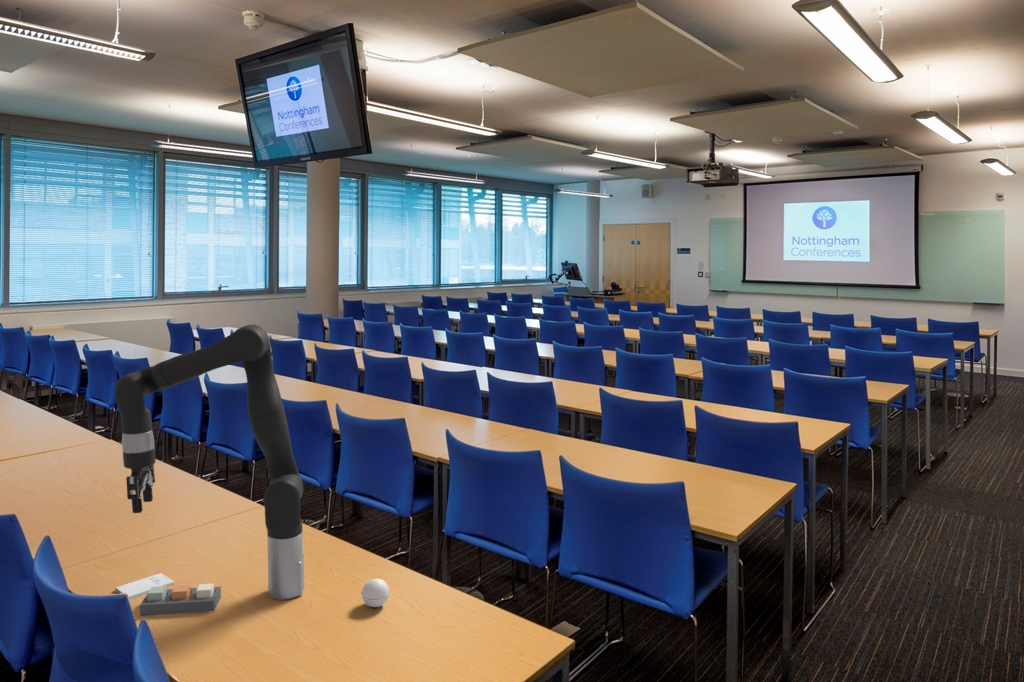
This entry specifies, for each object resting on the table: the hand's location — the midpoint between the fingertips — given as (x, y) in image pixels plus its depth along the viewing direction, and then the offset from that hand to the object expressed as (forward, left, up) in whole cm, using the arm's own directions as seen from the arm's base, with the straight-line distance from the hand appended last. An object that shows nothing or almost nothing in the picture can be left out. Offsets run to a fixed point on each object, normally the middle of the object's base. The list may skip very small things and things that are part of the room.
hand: (143, 506), depth 188 cm
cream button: (-17, +6, -24) cm, 30 cm away
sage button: (-5, +6, -24) cm, 25 cm away
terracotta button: (-11, +6, -24) cm, 27 cm away
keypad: (-11, +6, -26) cm, 28 cm away
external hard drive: (+2, -6, -26) cm, 27 cm away
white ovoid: (-60, +13, -26) cm, 67 cm away
